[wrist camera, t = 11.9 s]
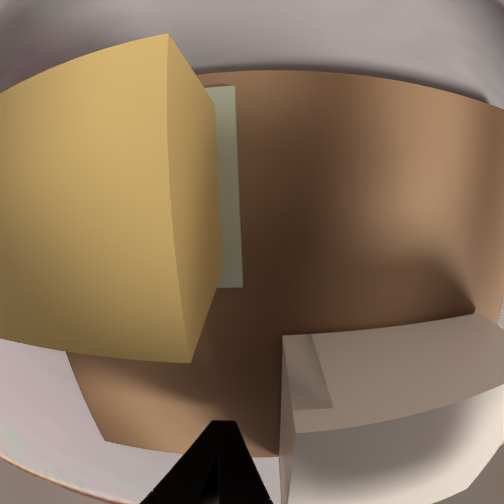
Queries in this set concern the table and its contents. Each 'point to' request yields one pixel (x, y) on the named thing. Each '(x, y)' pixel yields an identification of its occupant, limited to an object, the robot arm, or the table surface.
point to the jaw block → (110, 205)
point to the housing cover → (390, 411)
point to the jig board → (324, 245)
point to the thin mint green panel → (228, 184)
